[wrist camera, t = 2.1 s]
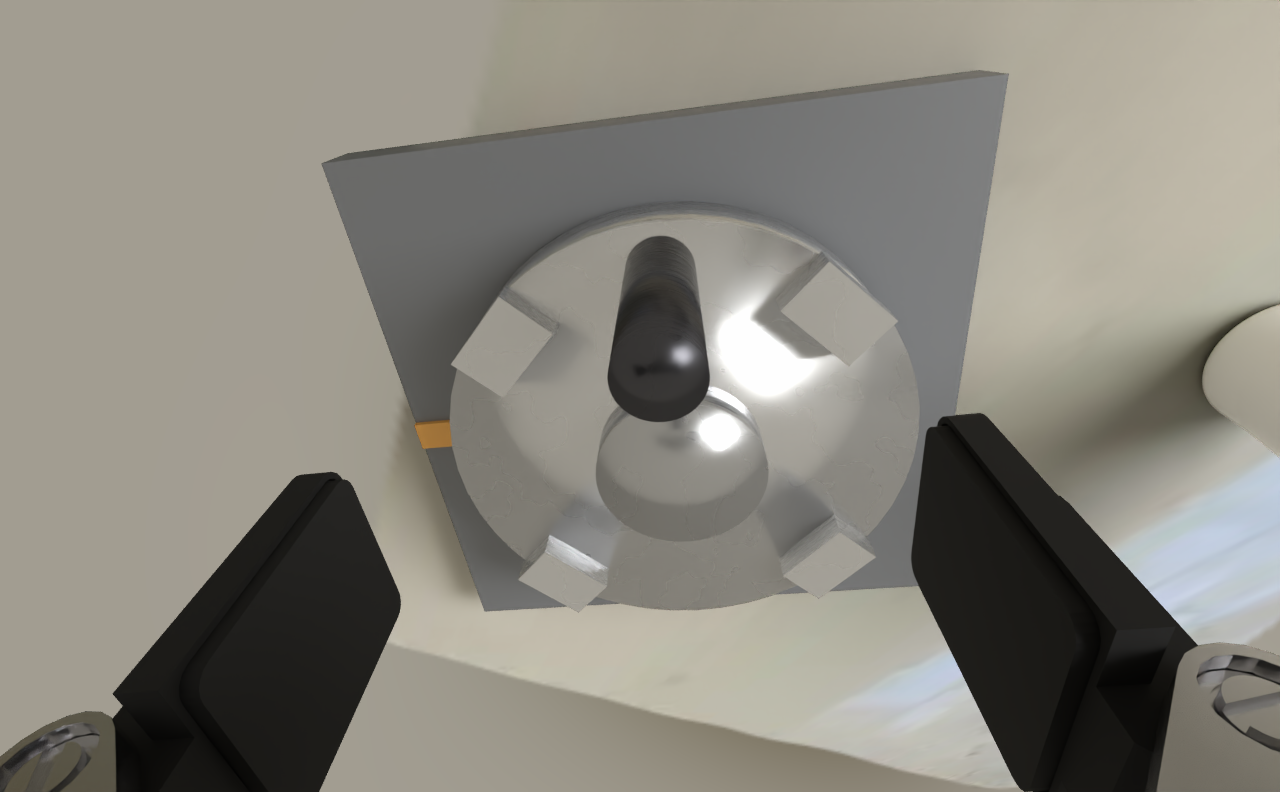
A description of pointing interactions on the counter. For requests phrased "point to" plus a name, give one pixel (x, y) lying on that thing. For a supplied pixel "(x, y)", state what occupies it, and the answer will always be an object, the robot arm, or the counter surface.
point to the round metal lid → (684, 411)
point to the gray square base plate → (672, 172)
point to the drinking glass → (1248, 377)
